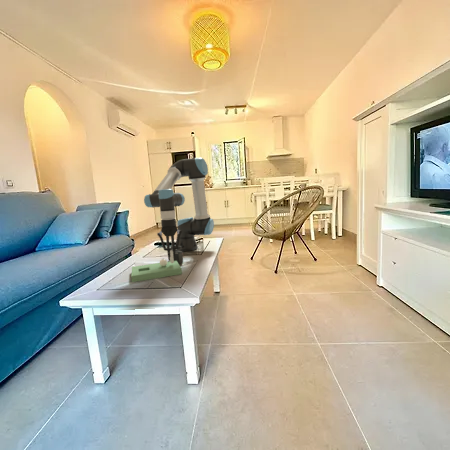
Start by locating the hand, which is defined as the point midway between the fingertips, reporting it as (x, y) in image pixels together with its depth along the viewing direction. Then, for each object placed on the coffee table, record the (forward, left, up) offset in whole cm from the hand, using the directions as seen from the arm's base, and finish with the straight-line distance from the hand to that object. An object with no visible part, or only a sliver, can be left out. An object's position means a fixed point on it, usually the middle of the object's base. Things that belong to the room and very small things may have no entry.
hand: (172, 262), depth 131 cm
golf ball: (+4, 0, 0) cm, 5 cm away
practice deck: (+8, 0, -5) cm, 10 cm away
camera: (-4, -17, -5) cm, 18 cm away
